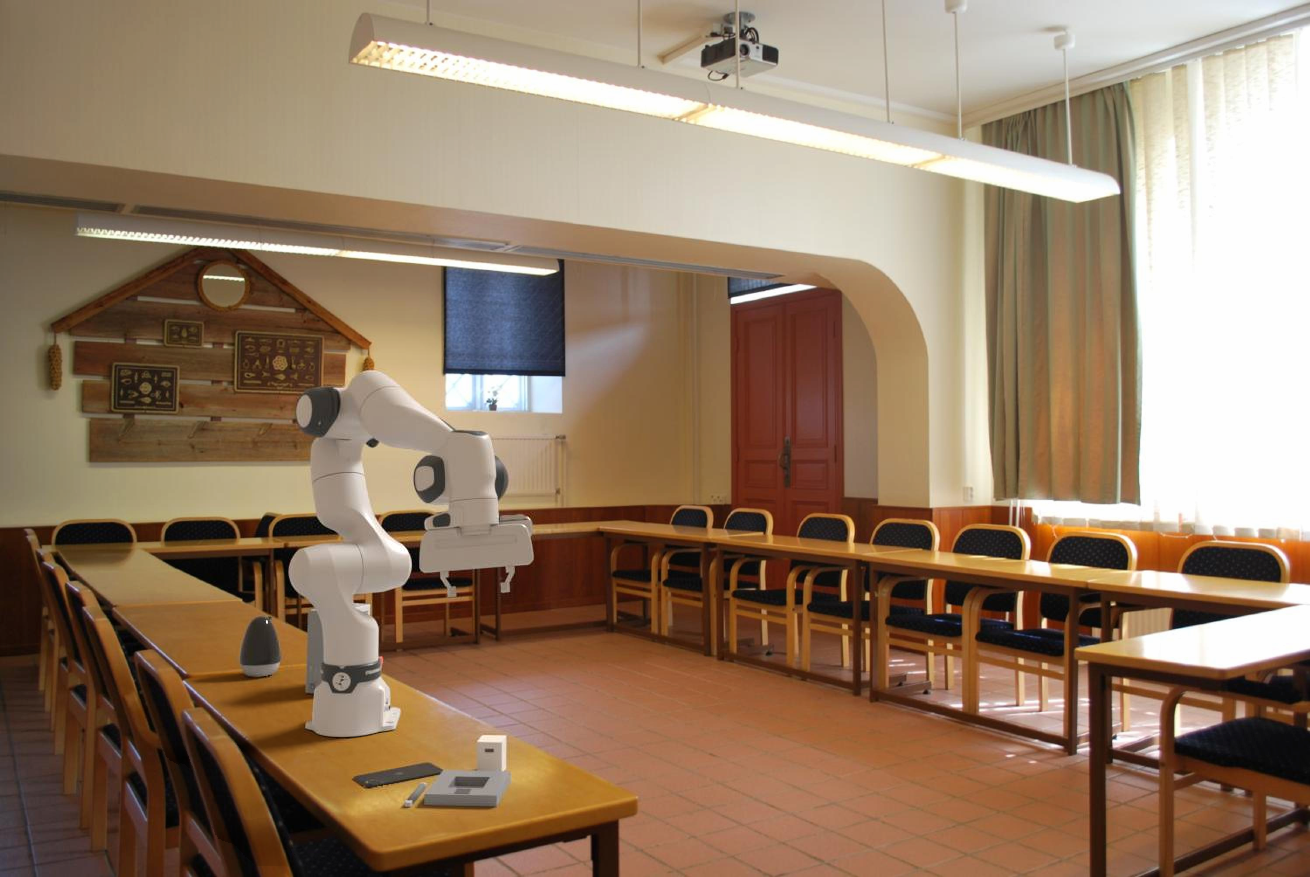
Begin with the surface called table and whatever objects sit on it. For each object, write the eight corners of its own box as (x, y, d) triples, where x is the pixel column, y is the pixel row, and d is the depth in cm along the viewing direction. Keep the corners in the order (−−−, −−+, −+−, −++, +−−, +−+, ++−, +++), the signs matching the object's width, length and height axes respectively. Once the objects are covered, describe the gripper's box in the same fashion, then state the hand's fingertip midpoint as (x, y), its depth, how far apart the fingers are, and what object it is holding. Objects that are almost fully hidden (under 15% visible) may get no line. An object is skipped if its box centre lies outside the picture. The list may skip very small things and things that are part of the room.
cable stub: (420, 787, 181) (420, 781, 181) (427, 788, 181) (427, 781, 181) (403, 808, 171) (404, 800, 171) (411, 808, 171) (411, 801, 171)
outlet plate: (443, 779, 185) (443, 769, 185) (510, 781, 184) (510, 770, 184) (424, 805, 172) (424, 793, 172) (496, 806, 171) (496, 795, 171)
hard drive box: (331, 696, 246) (332, 612, 246) (304, 694, 248) (305, 610, 248) (370, 682, 260) (370, 603, 261) (344, 680, 263) (344, 601, 263)
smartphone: (447, 770, 189) (367, 786, 179) (447, 774, 189) (367, 791, 179) (429, 760, 195) (351, 775, 185) (428, 765, 195) (351, 780, 185)
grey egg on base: (288, 671, 273) (289, 613, 273) (269, 680, 263) (270, 619, 263) (251, 670, 274) (251, 612, 274) (231, 678, 264) (231, 618, 264)
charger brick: (481, 767, 192) (482, 735, 192) (506, 768, 192) (506, 735, 192) (476, 775, 188) (476, 742, 188) (501, 775, 187) (501, 742, 187)
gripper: (530, 514, 193) (535, 589, 192) (417, 522, 189) (421, 599, 187) (533, 511, 187) (538, 589, 185) (417, 519, 183) (421, 599, 181)
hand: (478, 594), depth 186 cm, fingers open, 8 cm apart
